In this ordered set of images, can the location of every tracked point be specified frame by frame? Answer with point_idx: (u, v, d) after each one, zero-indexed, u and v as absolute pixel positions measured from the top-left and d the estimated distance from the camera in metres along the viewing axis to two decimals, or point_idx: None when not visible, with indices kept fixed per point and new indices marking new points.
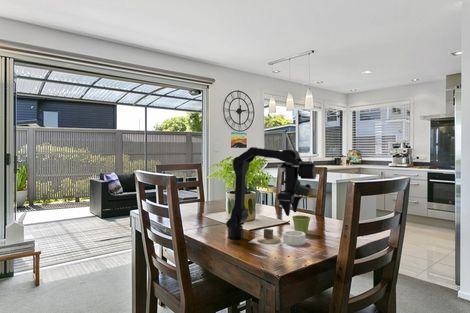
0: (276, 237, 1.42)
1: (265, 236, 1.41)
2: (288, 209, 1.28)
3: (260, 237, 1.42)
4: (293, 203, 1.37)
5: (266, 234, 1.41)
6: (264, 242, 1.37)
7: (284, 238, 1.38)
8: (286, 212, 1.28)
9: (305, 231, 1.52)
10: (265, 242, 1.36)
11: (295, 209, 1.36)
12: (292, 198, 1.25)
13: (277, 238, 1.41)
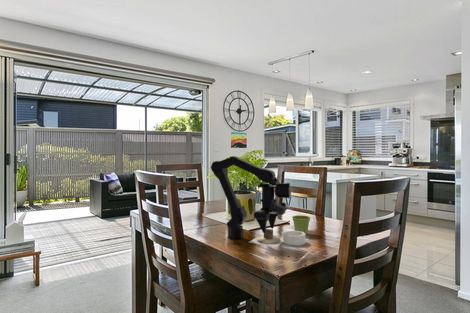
0: (276, 237, 1.42)
1: (265, 236, 1.41)
2: (264, 226, 1.36)
3: (260, 237, 1.42)
4: (270, 220, 1.46)
5: (266, 234, 1.41)
6: (264, 242, 1.37)
7: (284, 238, 1.38)
8: (262, 229, 1.37)
9: (305, 231, 1.52)
10: (265, 242, 1.36)
11: (272, 225, 1.45)
12: (267, 216, 1.33)
13: (277, 238, 1.41)
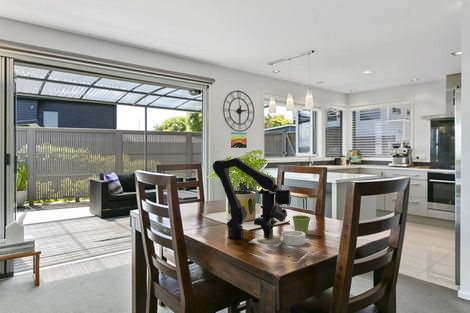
0: (276, 237, 1.42)
1: (265, 236, 1.41)
2: (267, 231, 1.40)
3: (260, 237, 1.42)
4: None
5: None
6: (264, 242, 1.37)
7: (284, 238, 1.38)
8: (266, 234, 1.40)
9: (305, 231, 1.52)
10: (265, 242, 1.36)
11: None
12: (267, 223, 1.33)
13: (277, 238, 1.41)
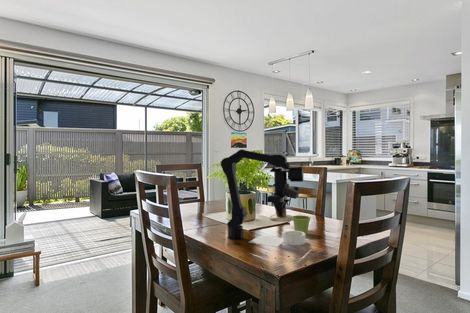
0: (289, 216, 1.41)
1: (278, 215, 1.40)
2: (281, 209, 1.38)
3: (273, 216, 1.41)
4: None
5: None
6: (278, 220, 1.35)
7: (284, 238, 1.38)
8: (279, 212, 1.39)
9: (305, 231, 1.52)
10: (279, 220, 1.35)
11: None
12: (281, 200, 1.32)
13: (290, 216, 1.39)
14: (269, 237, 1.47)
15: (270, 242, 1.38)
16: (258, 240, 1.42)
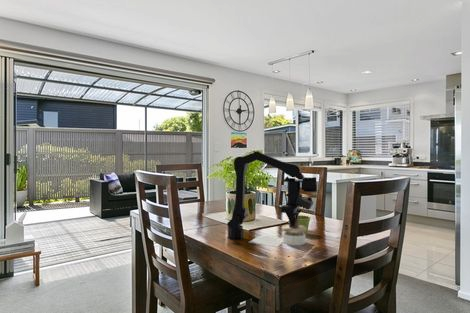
0: (302, 226, 1.40)
1: (291, 225, 1.39)
2: (293, 220, 1.37)
3: (285, 226, 1.40)
4: None
5: None
6: (290, 231, 1.34)
7: (284, 238, 1.38)
8: (291, 222, 1.38)
9: (305, 231, 1.52)
10: (291, 231, 1.34)
11: None
12: (294, 211, 1.31)
13: (303, 227, 1.39)
14: (269, 237, 1.47)
15: (270, 242, 1.38)
16: (258, 240, 1.42)
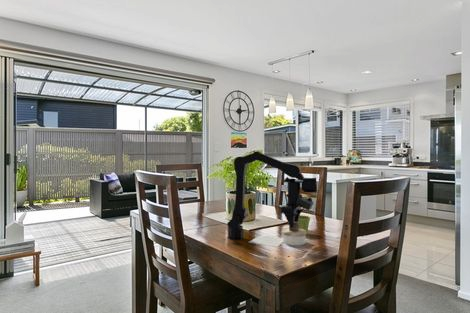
0: (302, 230, 1.40)
1: (291, 229, 1.39)
2: (292, 221, 1.36)
3: (285, 230, 1.40)
4: None
5: None
6: (291, 234, 1.34)
7: (284, 238, 1.38)
8: (290, 224, 1.37)
9: None
10: (292, 234, 1.34)
11: None
12: (295, 212, 1.31)
13: (303, 231, 1.39)
14: (269, 237, 1.47)
15: (270, 242, 1.38)
16: (258, 240, 1.42)
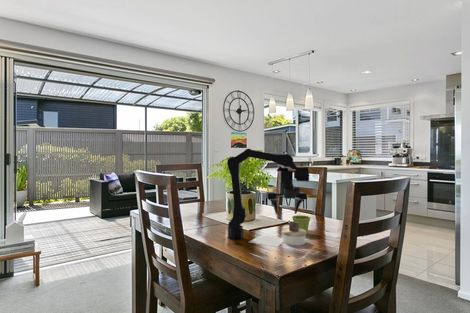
0: (302, 230, 1.40)
1: (291, 229, 1.39)
2: (274, 207, 1.43)
3: (285, 230, 1.40)
4: (295, 205, 1.45)
5: (292, 227, 1.39)
6: (291, 234, 1.34)
7: (284, 238, 1.38)
8: None
9: None
10: (292, 234, 1.34)
11: (295, 211, 1.44)
12: (272, 197, 1.40)
13: (303, 231, 1.39)
14: (269, 237, 1.47)
15: (270, 242, 1.38)
16: (258, 240, 1.42)
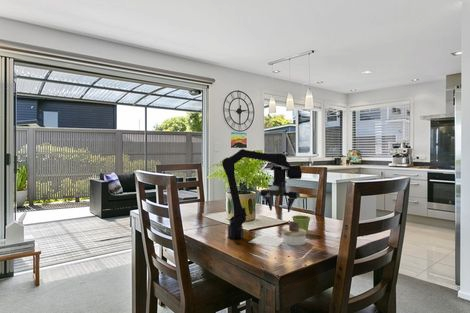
0: (302, 230, 1.40)
1: (291, 229, 1.39)
2: None
3: (285, 230, 1.40)
4: None
5: (292, 227, 1.39)
6: (291, 234, 1.34)
7: (284, 238, 1.38)
8: None
9: None
10: (292, 234, 1.34)
11: None
12: (262, 194, 1.49)
13: (303, 231, 1.39)
14: (269, 237, 1.47)
15: (270, 242, 1.38)
16: (258, 240, 1.42)
